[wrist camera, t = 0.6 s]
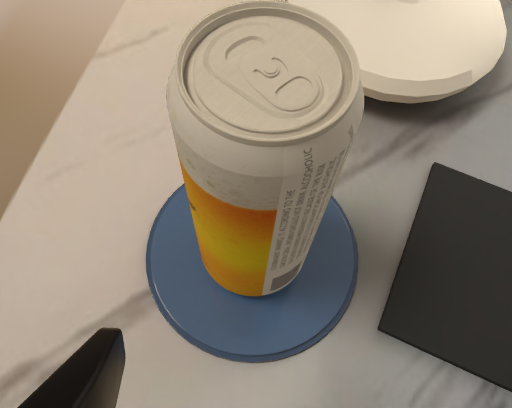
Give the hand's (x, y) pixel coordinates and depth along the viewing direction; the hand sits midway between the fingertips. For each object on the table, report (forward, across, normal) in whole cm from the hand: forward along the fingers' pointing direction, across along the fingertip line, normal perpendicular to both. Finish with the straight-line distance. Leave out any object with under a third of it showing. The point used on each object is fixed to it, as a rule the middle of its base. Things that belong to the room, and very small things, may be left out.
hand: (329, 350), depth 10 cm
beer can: (+14, +2, +8) cm, 17 cm away
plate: (+15, +2, +8) cm, 17 cm away
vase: (+30, -8, -1) cm, 31 cm away
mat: (+14, -14, +9) cm, 21 cm away
